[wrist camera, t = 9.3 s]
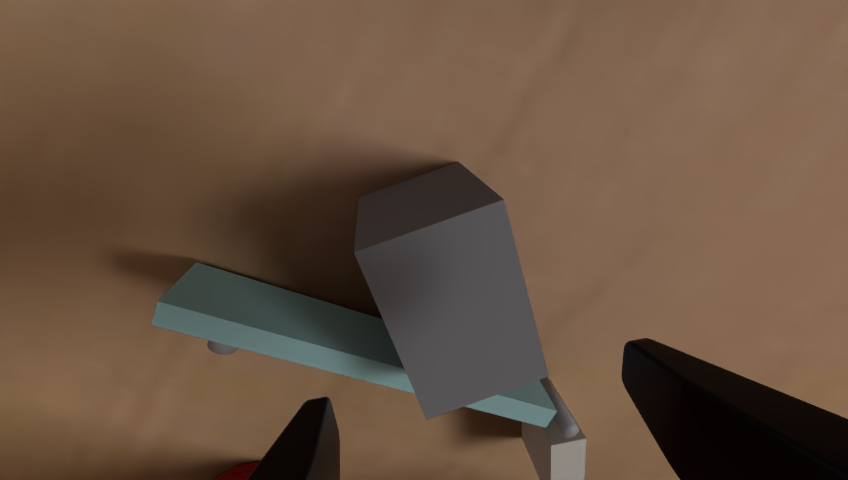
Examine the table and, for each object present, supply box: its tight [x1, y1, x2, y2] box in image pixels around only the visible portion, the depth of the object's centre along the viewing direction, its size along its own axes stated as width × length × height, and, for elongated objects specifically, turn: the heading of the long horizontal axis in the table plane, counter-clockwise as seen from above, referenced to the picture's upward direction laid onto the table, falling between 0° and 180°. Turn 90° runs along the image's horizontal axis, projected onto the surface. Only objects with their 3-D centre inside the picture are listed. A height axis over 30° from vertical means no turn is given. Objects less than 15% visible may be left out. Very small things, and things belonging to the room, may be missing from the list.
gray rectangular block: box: [354, 162, 548, 420], centre depth 14 cm, size 6×4×6 cm, turn 18°
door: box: [152, 262, 557, 428], centre depth 16 cm, size 15×2×3 cm, turn 66°
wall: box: [522, 377, 586, 480], centre depth 14 cm, size 24×2×4 cm, turn 7°
